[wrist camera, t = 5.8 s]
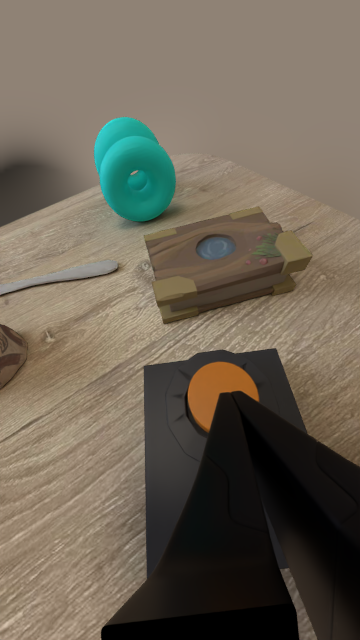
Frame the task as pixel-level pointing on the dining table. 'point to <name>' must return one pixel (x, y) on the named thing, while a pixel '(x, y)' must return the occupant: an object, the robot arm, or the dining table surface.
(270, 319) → the dining table surface
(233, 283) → the book
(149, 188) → the donuts
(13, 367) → the figurine
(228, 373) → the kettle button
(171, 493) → the black button base
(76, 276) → the butter knife
